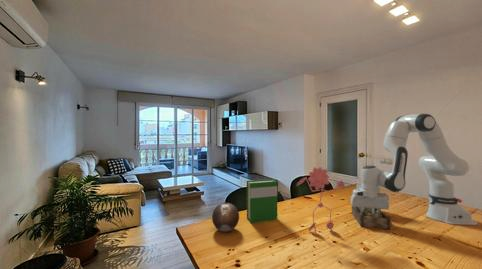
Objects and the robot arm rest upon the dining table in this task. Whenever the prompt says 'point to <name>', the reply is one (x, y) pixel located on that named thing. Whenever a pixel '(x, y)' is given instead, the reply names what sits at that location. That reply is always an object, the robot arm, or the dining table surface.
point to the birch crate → (370, 212)
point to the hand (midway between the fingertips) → (369, 214)
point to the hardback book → (261, 200)
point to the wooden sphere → (225, 217)
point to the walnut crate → (371, 220)
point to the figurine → (319, 180)
